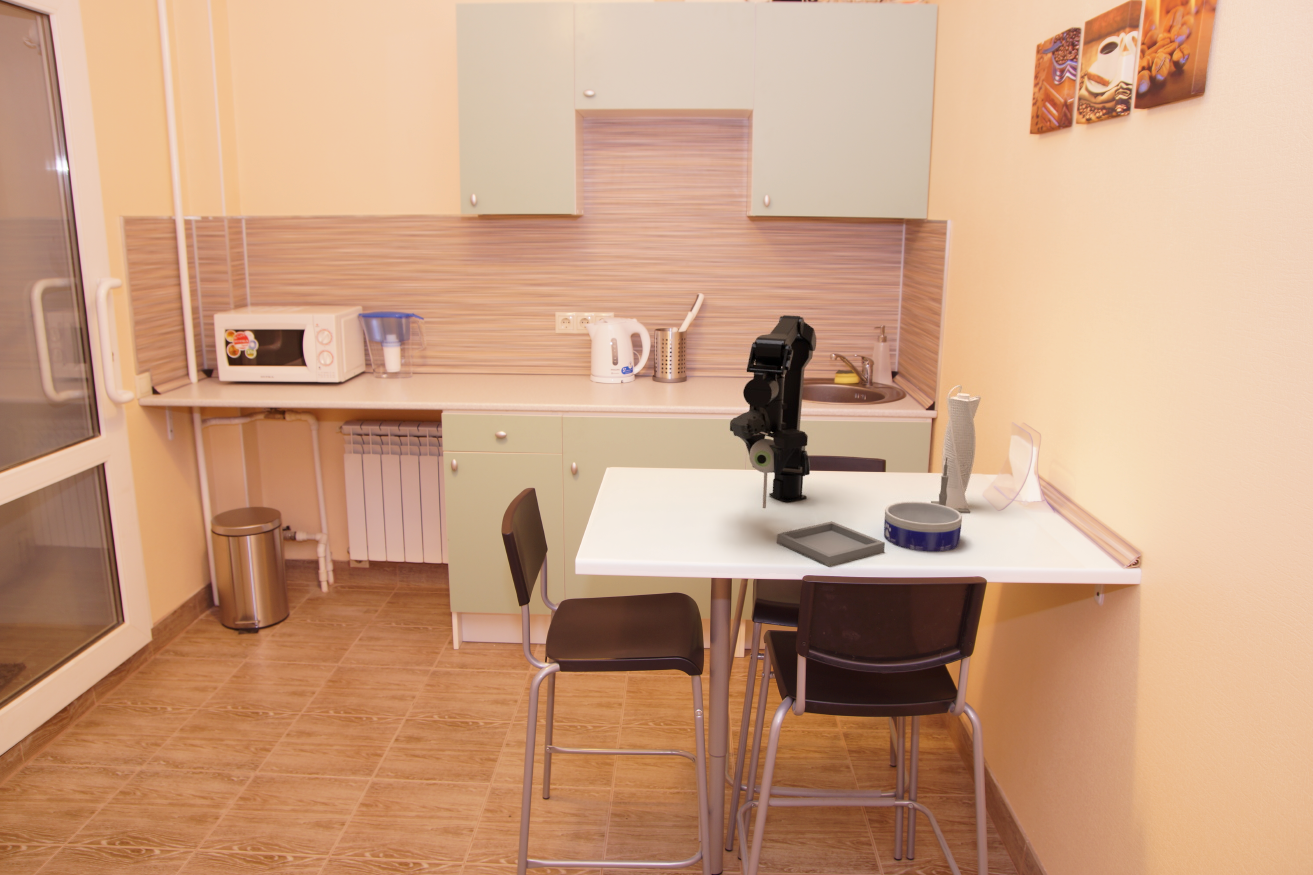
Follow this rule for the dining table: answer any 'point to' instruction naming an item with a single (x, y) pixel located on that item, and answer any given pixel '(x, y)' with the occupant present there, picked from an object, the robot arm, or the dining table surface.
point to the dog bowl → (922, 526)
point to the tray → (830, 543)
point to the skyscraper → (958, 451)
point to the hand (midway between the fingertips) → (766, 471)
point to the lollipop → (763, 460)
